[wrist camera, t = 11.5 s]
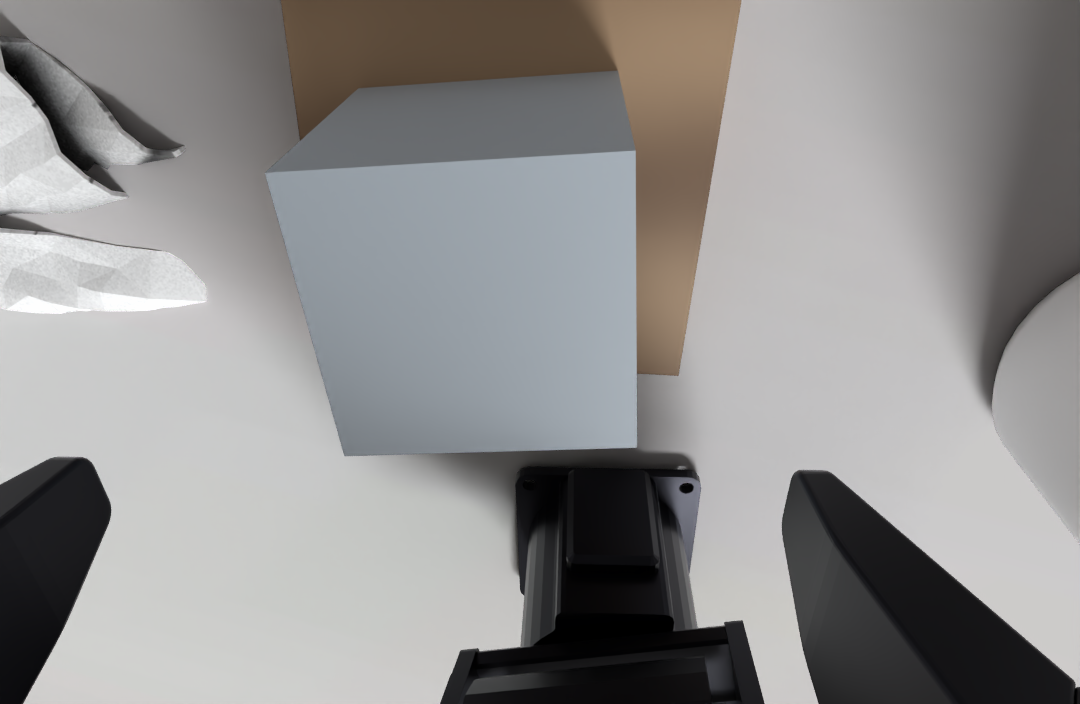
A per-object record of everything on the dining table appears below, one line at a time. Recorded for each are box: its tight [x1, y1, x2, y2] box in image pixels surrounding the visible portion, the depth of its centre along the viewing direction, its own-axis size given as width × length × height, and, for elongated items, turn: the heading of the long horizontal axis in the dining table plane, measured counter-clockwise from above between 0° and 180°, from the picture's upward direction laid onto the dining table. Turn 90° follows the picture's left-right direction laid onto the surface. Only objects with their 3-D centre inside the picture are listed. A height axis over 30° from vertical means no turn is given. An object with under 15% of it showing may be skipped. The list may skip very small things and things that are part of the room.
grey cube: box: [265, 71, 637, 456], centre depth 16 cm, size 6×6×6 cm
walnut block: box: [281, 0, 741, 376], centre depth 20 cm, size 10×10×3 cm
